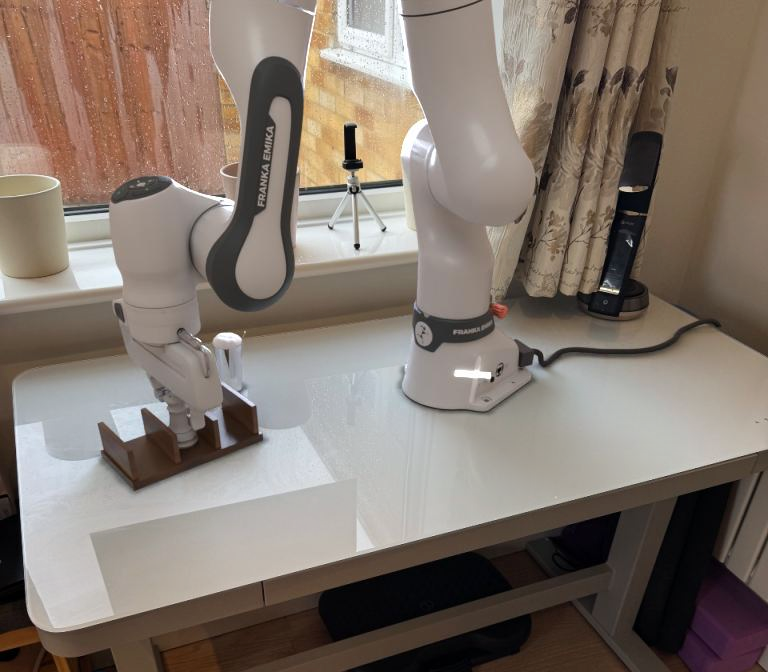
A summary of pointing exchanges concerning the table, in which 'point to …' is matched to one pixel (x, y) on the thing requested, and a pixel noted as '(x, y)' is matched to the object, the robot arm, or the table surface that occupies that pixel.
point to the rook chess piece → (180, 420)
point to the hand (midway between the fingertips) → (179, 412)
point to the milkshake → (229, 358)
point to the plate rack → (160, 445)
